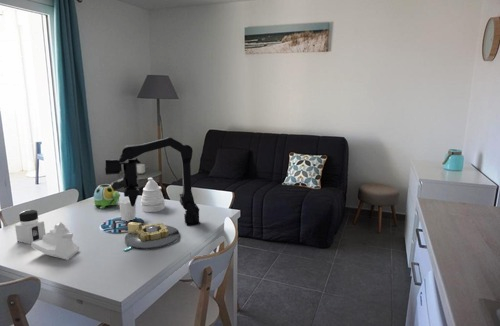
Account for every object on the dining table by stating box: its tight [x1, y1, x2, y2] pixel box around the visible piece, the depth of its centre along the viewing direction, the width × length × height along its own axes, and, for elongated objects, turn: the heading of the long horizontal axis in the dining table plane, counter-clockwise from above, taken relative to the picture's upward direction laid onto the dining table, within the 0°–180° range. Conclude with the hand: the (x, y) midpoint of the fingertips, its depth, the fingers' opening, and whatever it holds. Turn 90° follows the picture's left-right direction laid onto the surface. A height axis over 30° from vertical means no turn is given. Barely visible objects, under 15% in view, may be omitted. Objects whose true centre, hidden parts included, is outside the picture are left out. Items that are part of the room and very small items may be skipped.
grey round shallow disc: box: [123, 224, 180, 253], centre depth 145 cm, size 23×23×5 cm
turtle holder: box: [93, 183, 121, 210], centre depth 188 cm, size 12×18×12 cm
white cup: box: [118, 197, 137, 221], centre depth 167 cm, size 8×8×10 cm
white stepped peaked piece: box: [30, 221, 80, 261], centre depth 130 cm, size 12×15×14 cm
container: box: [14, 209, 46, 245], centre depth 143 cm, size 8×8×13 cm
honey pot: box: [140, 177, 166, 213], centre depth 184 cm, size 13×13×18 cm
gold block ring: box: [127, 221, 169, 241], centre depth 146 cm, size 19×15×4 cm
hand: (132, 205), depth 152 cm, fingers closed
